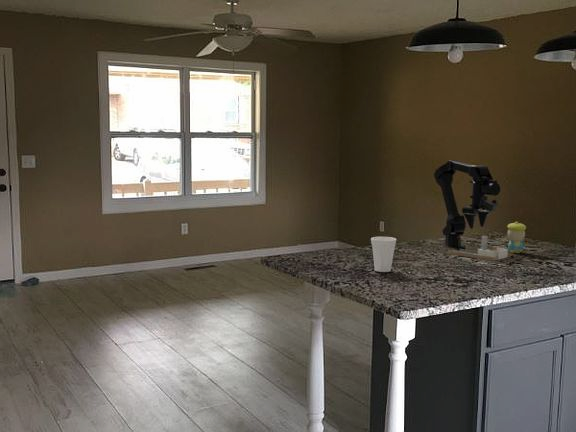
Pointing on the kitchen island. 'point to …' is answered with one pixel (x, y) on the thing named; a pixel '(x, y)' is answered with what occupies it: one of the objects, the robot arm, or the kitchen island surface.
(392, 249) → the cup
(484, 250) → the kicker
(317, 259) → the kitchen island surface
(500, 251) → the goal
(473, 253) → the pitch
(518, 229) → the toy
